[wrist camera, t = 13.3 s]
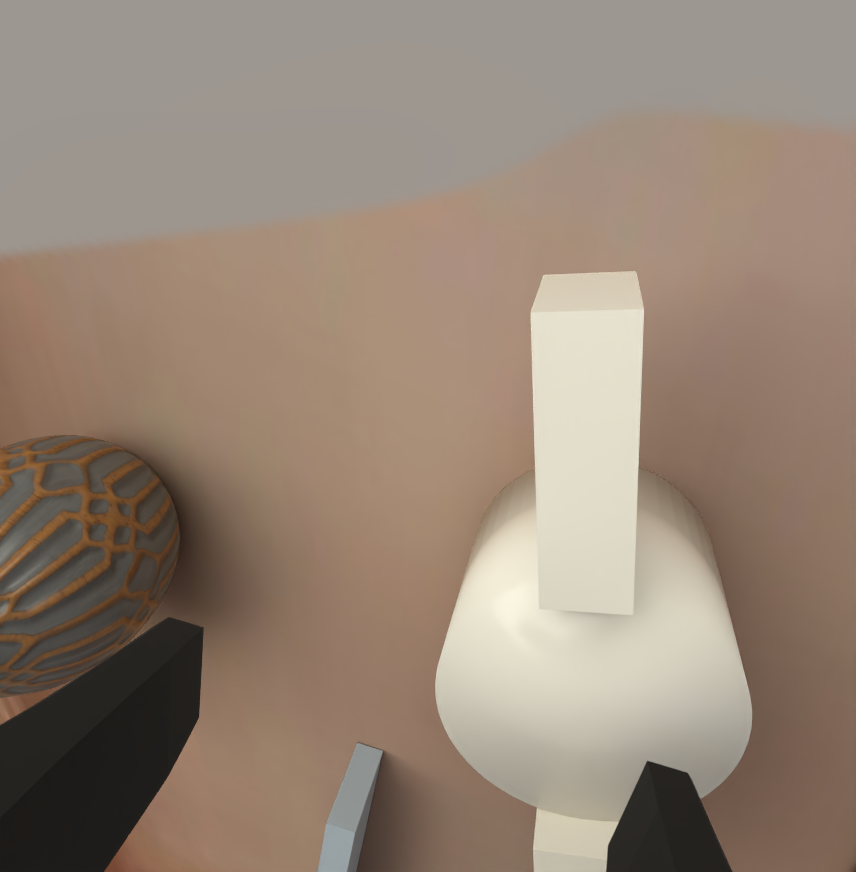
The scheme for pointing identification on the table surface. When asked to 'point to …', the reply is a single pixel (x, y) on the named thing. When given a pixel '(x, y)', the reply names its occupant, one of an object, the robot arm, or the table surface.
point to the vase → (77, 556)
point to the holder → (350, 812)
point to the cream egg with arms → (590, 600)
